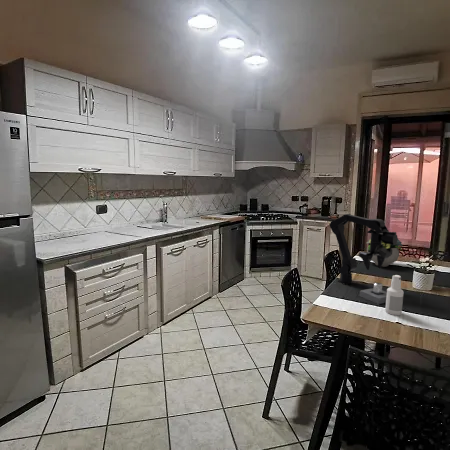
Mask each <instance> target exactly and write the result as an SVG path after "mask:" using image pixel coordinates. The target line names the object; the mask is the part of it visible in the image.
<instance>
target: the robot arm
mask: <svg viewBox="0 0 450 450" xmlns="http://www.w3.org/2000/svg"><path fill="white" fill-rule="evenodd" d="M348 222H350V223H354V224H357V225H360V226H361V225H363V226H364V227H367V228H368V229H369V230H368V231H367V234H370V239H371V241H370V243H367V244H368V245H370V250H368V252H367V251H360V252H358V253H359V254H358V257H359V258H361V260H362V261H363V263H364V266H365V268H366V270H367V271H369V270H370V267H371V262H372V259H371V258H372V257H373V256H377V261H378V269H381V268H382V264H383V262H384V260H385V259H386V258H389V256H391V255H392V248H388V249H387V248H384V245H383V244H382V242H383V243H386V244H392V245H396V244H397V241H398V239H399V237H398V235H397V232H396V231H389V230H388V228H387V226H386V223H385V221H384V220H383V219H380V218H366V217H361V216H357V215H354V214H350V213H345V214H343V215H341V216H339V217H338V218H336V219H335V220H331V221H330V223H329V228H330V229H331V232H332V233H333V234H334V236H335V237H336V240H337V244H338V247H339V249H340V250H339V251H340V253H341V257H342V260H341V267H340V268H338V271H337V272H338V273H339V280H337V282H339V283H342V284H344V285H350V284H351V285H352V284H354V282H353V273H354V272H355V270H356V269H357V268H358V262H357V259H356V257H353V256H352V255H351V252H350V250H349V246H348V243H347V242H348V241H347V239H346V237H345V225H346V224H347V223H348ZM368 245H367V246H368ZM369 252H370V253H369Z"/></svg>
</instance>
